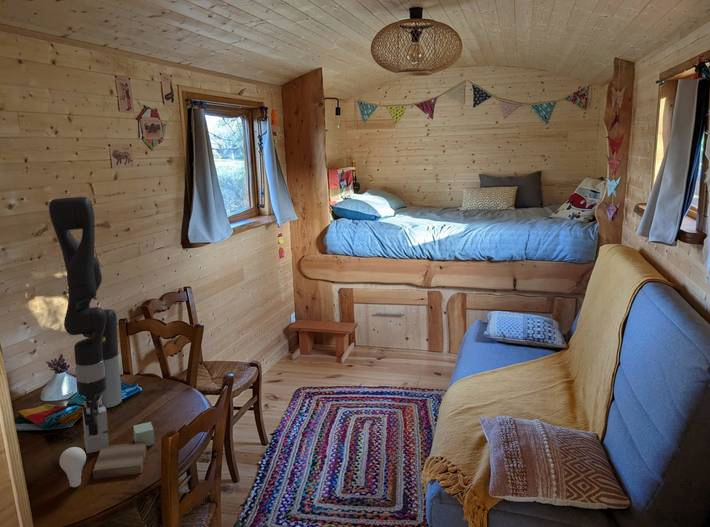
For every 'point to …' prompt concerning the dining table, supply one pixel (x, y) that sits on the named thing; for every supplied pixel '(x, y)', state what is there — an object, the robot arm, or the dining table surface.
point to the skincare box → (101, 438)
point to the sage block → (144, 433)
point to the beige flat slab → (120, 460)
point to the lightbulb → (73, 464)
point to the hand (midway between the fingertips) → (95, 429)
